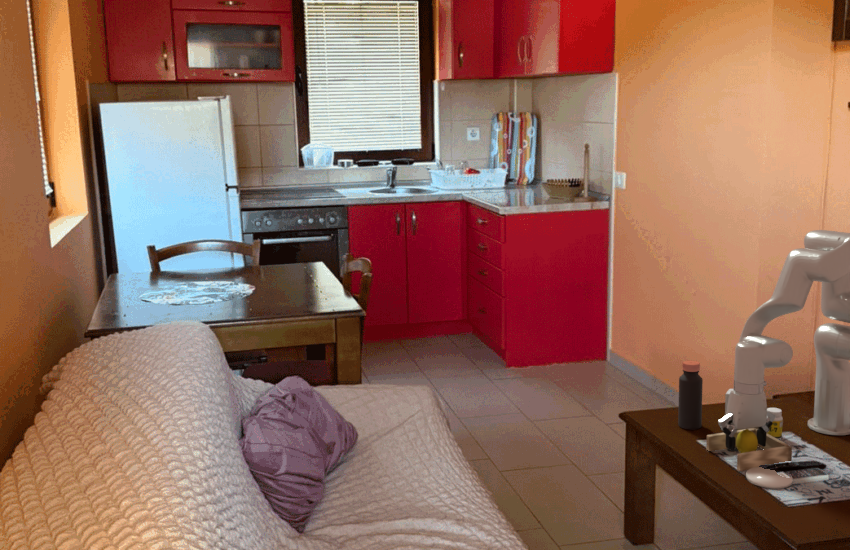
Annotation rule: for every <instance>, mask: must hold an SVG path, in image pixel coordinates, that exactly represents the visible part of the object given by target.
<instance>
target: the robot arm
mask: <svg viewBox="0 0 850 550" xmlns="http://www.w3.org/2000/svg"><path fill="white" fill-rule="evenodd" d="M803 245H804V248H795V249H792V250H791V251H790V252H788V254H787V255H786V258H785V261H784V263H783V266H782V269H781V270H780V273H779V277H778V279H777V282H776V284H775V287H774V290H773V293H772V295H771V297H770V298H769V299H768V300H767V301H765V302H764V303H762V304H761V305H760V306H758V307H757V308H756V309H755V311H753V312H752V313H751V314H749V315H750V316H748V318H746V319H747V320H746V321H745V323H744V325H743V328H742V330H741V333H740V337H739V340H738V342H737V343H736V344H735V349H734V365H733V367H734V372H733V373H734V374H733V389H734V390H733V391H731V392H730V395H729V399H728V404H727V411H726V416H725V415H724V416H723V417H722V418H720V419H718V421H717V423H718V426H719V428H720V431H722V433H724V434H726V448H728V449H727V450H730V451H732V452H734V451H736V448H735V437H734V435H735V433H736V432H737V431H738V430H743V429H750V428H758V429H757V441H758V444H760V445H761V446H763V447H764V446H766V435H767V432H769V428H770V427H771V426H772V424H773V423H772V422H773V421H774V419H775V417H776V415H774V414H772V413H770V412H768V411H767V408H768V405H767V397H766V392H765V391H764V387H766V386H767V384H768V383H767V381H766V380H765V370H766V369H767V368H774V369H775V368H782V367H785V366H786V365H788V364H789V363H790V362H791V360H792V358H793V355H794V350H793V348H792V346H791V345H790V344H789V343H788V342H787V341H785V340H782V339H778V338H773V337H770V336H767V335H763V331H764V329H765V328H766V327H767V326H768V324H769V323H770V322H771V321H773V320H775V319H777V318H779V317H782V316H784V315H789V314H792V313H797V312H799V311H802V310H803V308H804V307H805V304H806V302H807V300H808V296H809V294H810V292H811V291H810V290H811V288H812V286H813V284H814V282H819V283H821V289H820V290H821V291H820V292H821V294H820V298H821V299H820V309H821V313H822V315H823V316H824V317H825V318H828V319H829V320H834V321H838V322H843V323H848V324H850V232H844V231H842V232H841V231H835V230H829V229H828V230H827V229H826V230H825V229H814V230H811V231H808V232H807V233H806V234H805V236H804V238H803ZM813 346H814V351H815V352H814V353H815V367H816V368H815V384H814V385H815V387H814V405H813V406H814V407H813V417H812V418H809V419H808V420H807V427H808V428H809V429H810V430H812V431H814V432H817V433H820V434H824V435H828V436H829V435H830V436H846V435H847V436H848V435H850V325H846V324H841V323H836V322H835V323H834V322H826V323H824V324H821V325H819V326H818V327H817V328H816V330H815V331H814V334H813ZM767 416H768V418H767ZM726 424H728V426H727V427H726Z"/></svg>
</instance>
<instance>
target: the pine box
mask: <svg viewBox="0 0 850 550" xmlns="http://www.w3.org/2000/svg"><path fill="white" fill-rule="evenodd" d="M757 429H759V428H758V427H757V428H750V429H749V430H750V431H752V432H753V433H754V434H755V435H756V437H757ZM743 430H746V429H742V430H738V431H737V432H736V433H735V435H734V437H735V449H737V447H736V439H737V436H738V434H739V433H740V432H741V431H743ZM758 446H759V447H758V448H760V447H761V448H762V449H761V448H760V449H759V450H758V449H757V450H756V451H751V452H745V453H740V452H739V453H736V455H737V457H736V458H737V459H736V471H738V472H744V471H746V472H747V470H749V469H751V468H754V467H759V466H760V465H765V464H774V463H779V462H785V461H792V460H793V446H791V445H790V444H787V443H785V442H784V441H782V440H781V439H780V440H778V439H776V438H775V437H773V436H771V435H769V434H767V435H766V446H764V447H763V446H761V445H760V444H758ZM705 447H706V448H705V450H706V451H707V450H708V451H711V452H716V451H715V450H717V451H722V450H723V449H724V450H729V449H728V448H726V434H724V432H717V433H711V434H707V435H706V446H705ZM763 449H764V450H763ZM724 450H723V451H724ZM708 451H707V452H708ZM792 462H793V461H792Z"/></svg>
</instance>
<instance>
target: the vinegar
mask: <svg viewBox="0 0 850 550" xmlns="http://www.w3.org/2000/svg"><path fill="white" fill-rule="evenodd" d="M700 363H701V362H699V361H696V360H684V361H682V365H681V366H682V367H681V368H682V372H683V373H682V374H681V375H680V376H678V377H679V378H678V410H677V411H678V413H677V415H678V417H677V418H678V419H677V420H678V421H677V423H678V424H677V425H678V426H679V427H680V428H681V429H684V430H698V429H700V428H702V421H703V420H702V419H703V418H702V416H703V415H702V414H703V383H704V382H703V380H704V379H703V378H702V377H701V376H700V374H699V373H700V367H701V366H700Z"/></svg>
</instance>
